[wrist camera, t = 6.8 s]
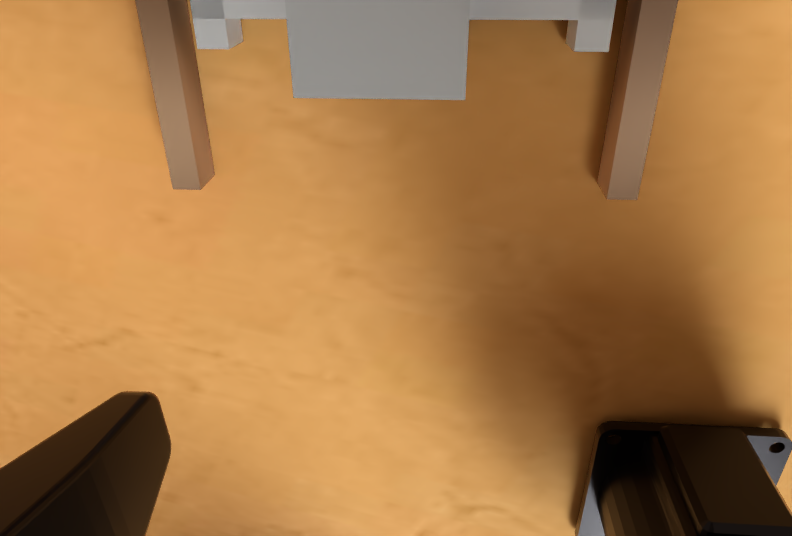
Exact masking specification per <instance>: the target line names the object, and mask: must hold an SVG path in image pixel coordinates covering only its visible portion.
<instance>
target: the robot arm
mask: <svg viewBox="0 0 792 536" xmlns="http://www.w3.org/2000/svg"><path fill="white" fill-rule="evenodd" d="M613 434H616V435H615V436H612V437H608V436H610V435H613ZM774 443H775V444H774ZM791 450H792V442H791V440H790V439H789V437H788V436H787V434H786V433H785V432H784V431H783V430H780V429H772V428H751V427H730V426H709V425H688V424H667V423H646V422H625V421H607V422H605V423H602V424H601V425H600V426H599V427H598V429H597V431H596V435H595V440H594V445H593V450H592V454H591V459H590V464H589V468H588V473H587V478H586V483H585V487H584V492H583V497H582V501H581V506H580V511H579V516H578V520H577V525H576V530H575V536H792V513H791V511H790V509H789V507H788V506H787V504H786V502H785V501H784V499H783V497H782V496H781V494H780V492H779V490H778V489H777V487H776V485H777V482H778V480H779V478H780V476H781V473H782V471H783V469H784V466H785V464H786V462H787V460H788V457H789V455H790V453H791ZM170 454H171V440H170V436H169V433H168V429H167V426H166V422H165V419H164V415H163V412H162V409H161V405H160V402H159V400H158V398H157V396H156V395H155V394H154V393H151V392H135V391H126V392H120V393H118V394H116V395H115V396H113V397H111V398H110V399H108V400H107V401H105V402H104V403H102V404H100V405H99V406H97V407H96V408H94V409H93V410H91V411H90V412H88V413H86V414H85V415H83V416H82V417H80V418H79V419H77V420H75V421H74V422H72V423H71V424H69V425H68V426H66V427H65V428H63V429H61V430H60V431H58V432H57V433H55V434H54V435H52V436H50V437H49V438H47V439H46V440H44V441H43V442H41V443H40V444H38V445H36V446H35V447H33V448H32V449H30V450H29V451H27V452H25V453H24V454H22V455H21V456H19V457H18V458H16V459H15V460H13V461H11V462H10V463H8V464H7V465H5V466H4V467H2V468H0V536H145V535H146V532H147V529H148V526H149V522H150V519H151V516H152V513H153V510H154V507H155V503H156V500H157V497H158V494H159V491H160V488H161V484H162V481H163V478H164V475H165V472H166V469H167V466H168V462H169V459H170Z"/></svg>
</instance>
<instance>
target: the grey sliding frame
mask: <svg viewBox="0 0 792 536" xmlns="http://www.w3.org/2000/svg"><path fill="white" fill-rule="evenodd" d="M616 1H617V0H190V5H191V11H192V17H193V23H194V30H195V36H196V42H197V49H230V48H232V47H234V46H236V45H237V44H239V43H241V42H243V35H242V27H241V19H287V30H288V41H289V53H290V64H291V75H292V87H293V98H338V99H418V100H465V95H466V75H467V54H468V34H469V20H568V28H567V36H566V44H567V45H568V46H569V47H570V48H571V49H572V50H573V51H574V52H608V51H609V45H610V38H611V32H612V26H613V20H614V13H615V7H616Z"/></svg>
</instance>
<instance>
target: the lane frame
mask: <svg viewBox="0 0 792 536" xmlns="http://www.w3.org/2000/svg"><path fill="white" fill-rule="evenodd" d="M135 2H136V7H137V12H138V17H139V22H140V27H141V32H142V37H143V42H144V47H145V52H146V57H147V62H148V67H149V72H150V77H151V82H152V87H153V92H154V97H155V102H156V107H157V112H158V117H159V122H160V127H161V132H162V137H163V142H164V147H165V152H166V157H167V162H168V167H169V172H170V177H171V182H172V187H173V189H187V190H201V189H202V188H203V187H204V186H205V185H206V184H207V182H208V181H209V180H210V179H211V178H212V177H213V176H214V175H215V172H214V166H213V160H212V154H211V148H210V141H209V135H208V129H207V123H206V117H205V110H204V104H203V98H202V92H201V86H200V79H199V73H198V67H197V61H196V55H195V48H194V42H193V36H192V30H191V24H190V17H189V11H188V5H187V0H135ZM677 4H678V0H628V2H627V8H626V14H625V20H624V26H623V32H622V38H621V44H620V50H619V56H618V61H617V67H616V73H615V79H614V85H613V91H612V97H611V103H610V109H609V115H608V121H607V127H606V133H605V139H604V145H603V151H602V157H601V163H600V169H599V175H598V181H597V183H598V185H599V187H600V189H601V190H602V192H603V194H604V195H605V197H606V199H617V200H637V199H638V194H639V189H640V184H641V179H642V174H643V169H644V165H645V160H646V155H647V150H648V145H649V140H650V135H651V130H652V126H653V121H654V116H655V111H656V106H657V101H658V96H659V91H660V87H661V82H662V77H663V72H664V67H665V62H666V57H667V52H668V47H669V43H670V38H671V33H672V28H673V23H674V18H675V13H676V8H677Z"/></svg>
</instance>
